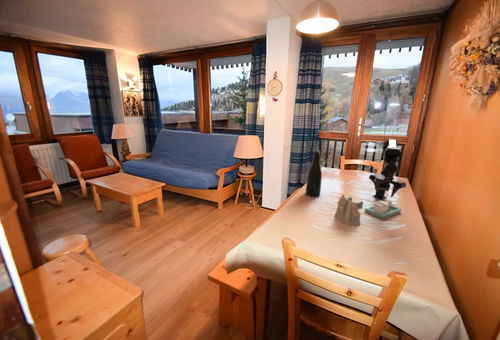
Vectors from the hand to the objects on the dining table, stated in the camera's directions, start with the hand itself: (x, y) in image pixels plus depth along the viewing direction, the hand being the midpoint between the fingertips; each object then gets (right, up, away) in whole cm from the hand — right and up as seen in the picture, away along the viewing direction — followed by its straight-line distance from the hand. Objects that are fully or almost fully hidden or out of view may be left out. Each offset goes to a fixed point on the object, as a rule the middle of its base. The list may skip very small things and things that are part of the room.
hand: (383, 194), depth 133 cm
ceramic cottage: (-22, -14, -4) cm, 27 cm away
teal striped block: (+2, -11, +4) cm, 12 cm away
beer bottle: (-34, -4, +30) cm, 46 cm away
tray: (+2, -12, +5) cm, 13 cm away
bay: (-12, -8, +15) cm, 21 cm away
